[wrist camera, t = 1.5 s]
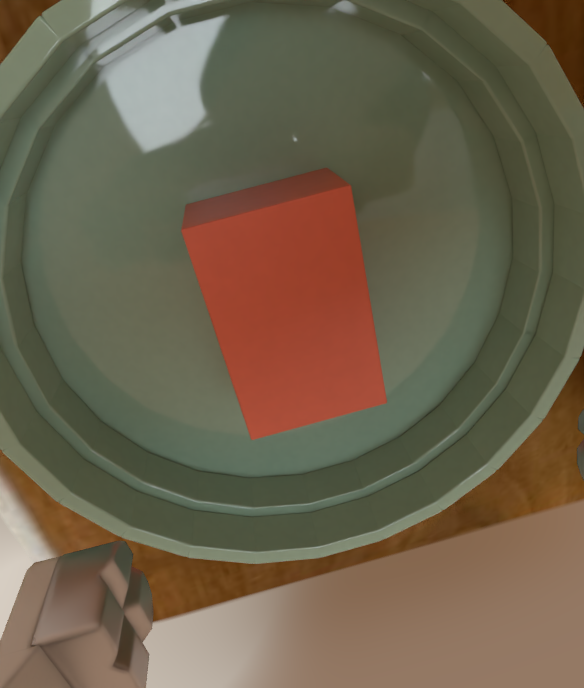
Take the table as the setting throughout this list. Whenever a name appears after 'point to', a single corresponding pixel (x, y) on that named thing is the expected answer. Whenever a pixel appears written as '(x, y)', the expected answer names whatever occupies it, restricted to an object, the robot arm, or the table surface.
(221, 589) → the table surface
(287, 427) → the red rectangular block
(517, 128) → the bowl
